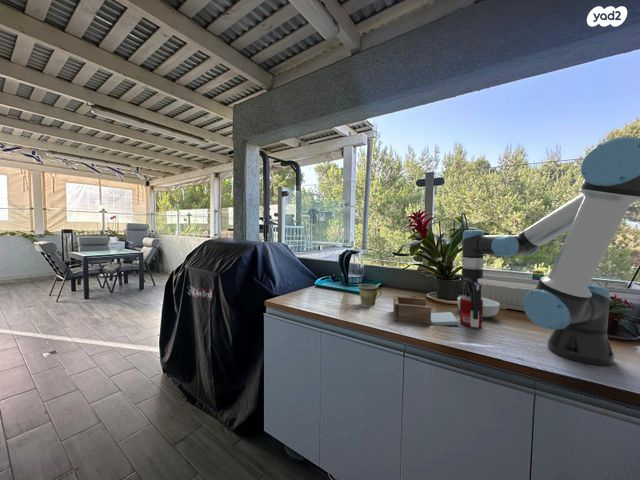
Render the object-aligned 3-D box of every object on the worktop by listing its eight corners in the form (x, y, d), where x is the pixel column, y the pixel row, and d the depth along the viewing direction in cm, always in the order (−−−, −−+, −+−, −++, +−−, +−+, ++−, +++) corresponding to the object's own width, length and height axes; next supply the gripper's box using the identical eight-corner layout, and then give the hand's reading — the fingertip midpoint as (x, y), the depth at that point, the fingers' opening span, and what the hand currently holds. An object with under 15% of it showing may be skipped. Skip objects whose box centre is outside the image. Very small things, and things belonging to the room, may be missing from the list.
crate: (433, 327, 105) (433, 307, 105) (394, 323, 108) (395, 304, 108) (427, 315, 119) (428, 298, 118) (393, 312, 122) (393, 295, 122)
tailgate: (459, 324, 104) (458, 321, 104) (432, 325, 106) (432, 322, 106) (451, 315, 115) (451, 312, 115) (427, 316, 117) (427, 313, 117)
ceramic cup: (354, 304, 133) (354, 285, 133) (366, 301, 140) (366, 283, 140) (375, 311, 124) (375, 290, 123) (386, 307, 130) (387, 287, 130)
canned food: (485, 328, 102) (486, 300, 101) (463, 326, 103) (464, 299, 103) (477, 321, 109) (478, 295, 109) (457, 320, 111) (457, 294, 110)
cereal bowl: (482, 324, 109) (483, 307, 109) (448, 312, 125) (449, 297, 124) (507, 318, 116) (508, 303, 116) (472, 308, 132) (473, 294, 131)
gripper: (455, 264, 116) (454, 314, 117) (470, 271, 96) (468, 331, 97) (473, 265, 115) (472, 316, 115) (493, 271, 95) (491, 333, 95)
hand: (470, 323), depth 106 cm, fingers closed on canned food, 8 cm apart
